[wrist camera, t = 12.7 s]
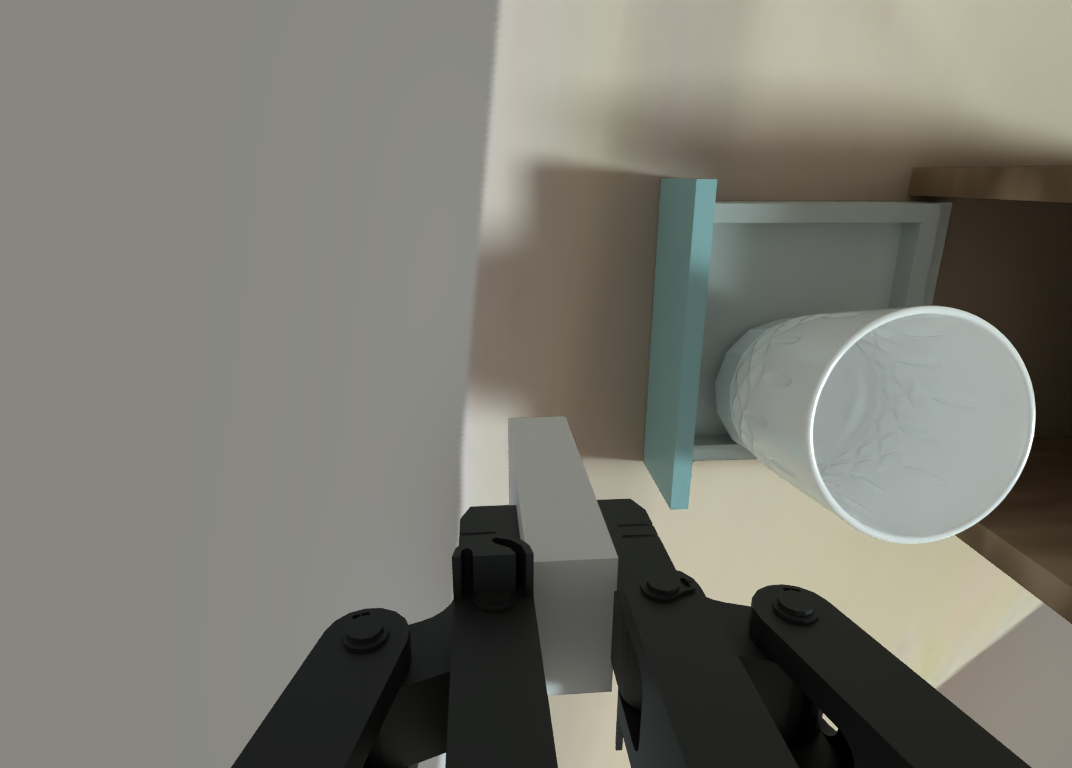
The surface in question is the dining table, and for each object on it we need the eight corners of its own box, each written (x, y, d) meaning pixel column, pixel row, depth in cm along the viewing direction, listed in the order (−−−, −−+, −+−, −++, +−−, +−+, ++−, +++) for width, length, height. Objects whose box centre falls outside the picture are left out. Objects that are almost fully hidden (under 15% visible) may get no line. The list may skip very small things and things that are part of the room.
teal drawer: (661, 178, 29) (696, 179, 24) (942, 179, 30) (1029, 180, 25) (643, 461, 33) (670, 509, 28) (888, 453, 34) (954, 498, 29)
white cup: (775, 501, 31) (910, 591, 21) (667, 389, 30) (757, 429, 20) (891, 388, 31) (1082, 426, 21) (787, 271, 30) (937, 253, 20)
